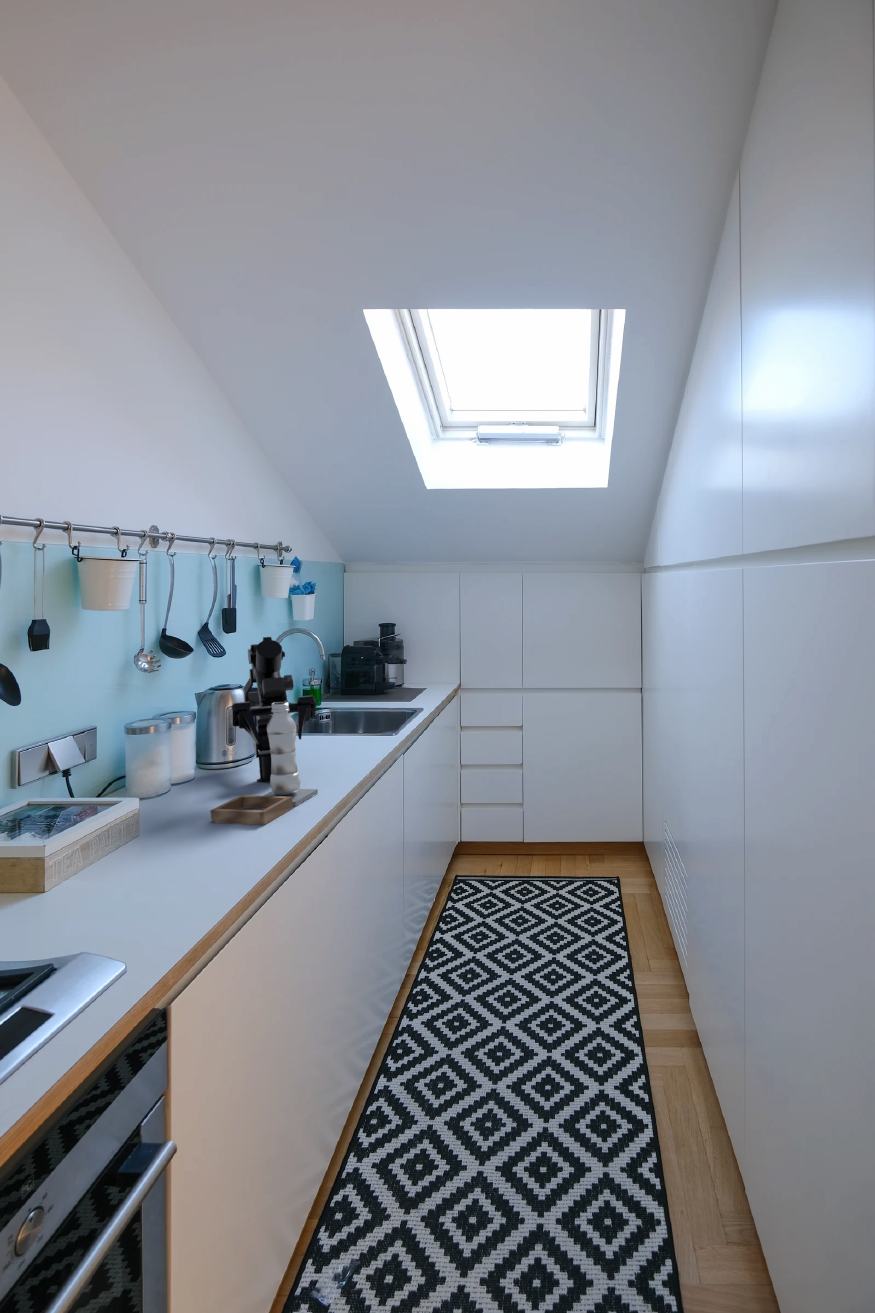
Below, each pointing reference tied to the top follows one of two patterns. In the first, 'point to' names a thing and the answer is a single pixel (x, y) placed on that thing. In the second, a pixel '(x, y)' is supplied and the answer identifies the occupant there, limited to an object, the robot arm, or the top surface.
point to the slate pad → (298, 795)
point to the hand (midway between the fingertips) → (279, 740)
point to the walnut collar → (235, 815)
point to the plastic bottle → (283, 751)
